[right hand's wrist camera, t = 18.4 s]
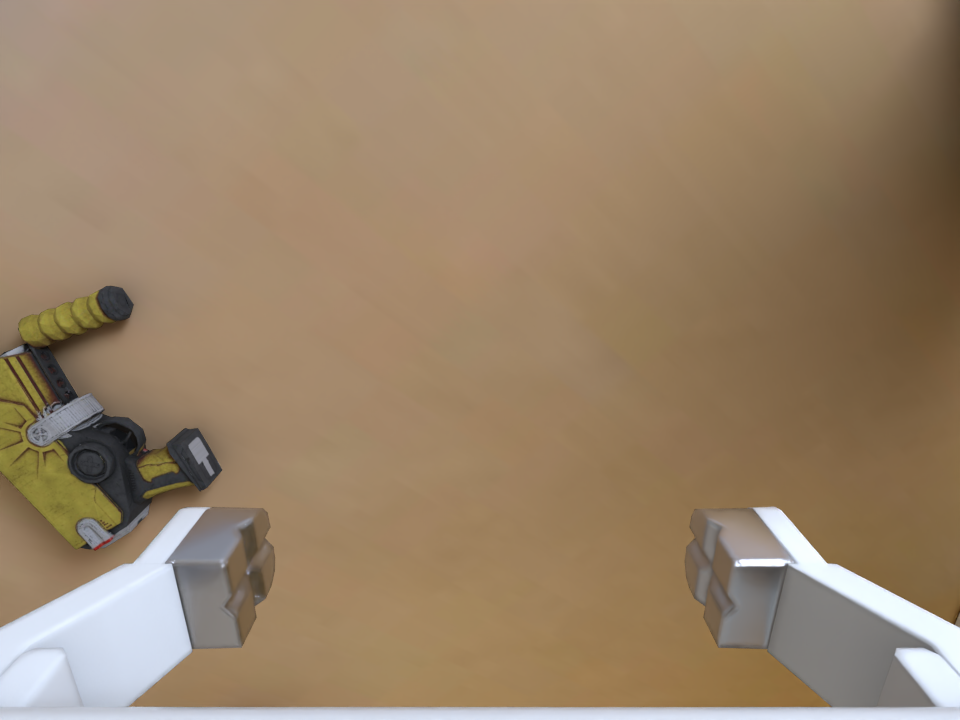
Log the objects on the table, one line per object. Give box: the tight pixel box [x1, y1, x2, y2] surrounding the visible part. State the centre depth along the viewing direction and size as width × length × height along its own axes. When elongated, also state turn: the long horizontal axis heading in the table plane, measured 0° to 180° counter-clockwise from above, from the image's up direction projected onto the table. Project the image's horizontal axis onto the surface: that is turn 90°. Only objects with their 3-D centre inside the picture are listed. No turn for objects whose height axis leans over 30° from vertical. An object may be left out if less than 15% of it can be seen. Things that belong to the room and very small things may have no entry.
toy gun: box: [0, 286, 222, 550], centre depth 40 cm, size 5×24×15 cm
